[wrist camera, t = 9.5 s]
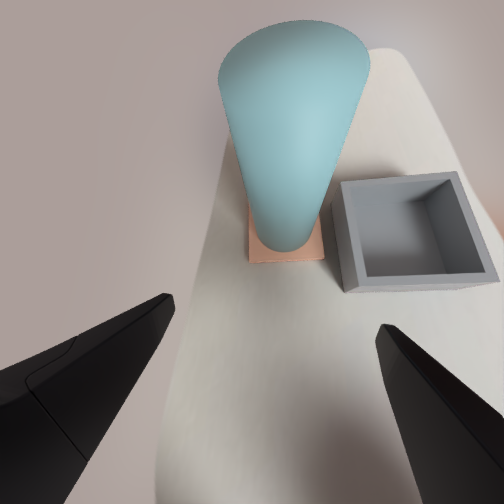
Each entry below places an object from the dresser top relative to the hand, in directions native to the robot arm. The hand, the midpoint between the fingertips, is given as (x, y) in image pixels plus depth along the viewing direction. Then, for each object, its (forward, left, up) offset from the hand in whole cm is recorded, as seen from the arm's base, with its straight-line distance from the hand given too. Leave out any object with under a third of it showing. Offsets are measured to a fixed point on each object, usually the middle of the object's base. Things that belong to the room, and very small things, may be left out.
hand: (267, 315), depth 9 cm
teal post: (+8, -1, -8) cm, 11 cm away
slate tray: (+6, -10, -8) cm, 14 cm away
